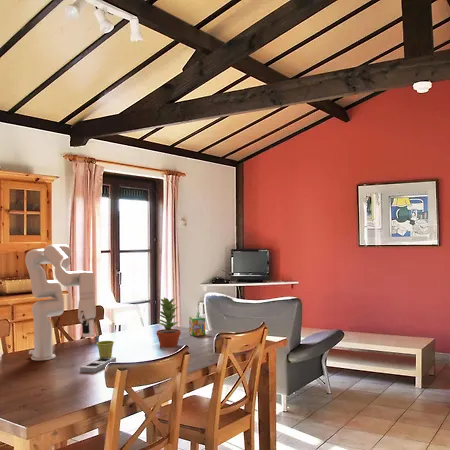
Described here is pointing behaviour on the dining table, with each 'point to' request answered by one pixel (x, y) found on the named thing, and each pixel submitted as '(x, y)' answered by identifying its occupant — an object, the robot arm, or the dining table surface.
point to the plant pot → (105, 348)
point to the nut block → (91, 329)
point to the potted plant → (168, 325)
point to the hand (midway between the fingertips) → (88, 332)
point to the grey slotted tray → (97, 365)
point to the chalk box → (197, 325)
